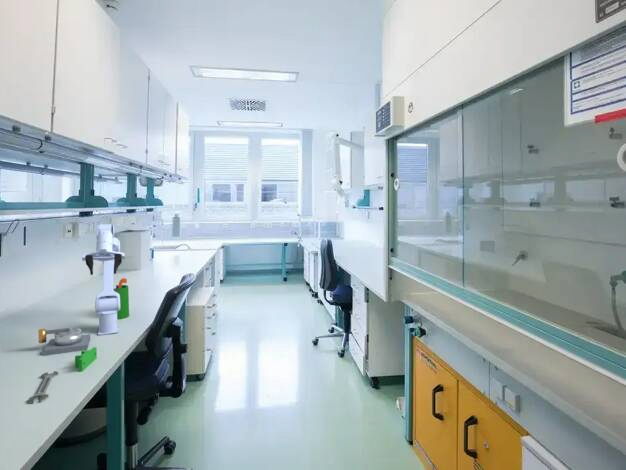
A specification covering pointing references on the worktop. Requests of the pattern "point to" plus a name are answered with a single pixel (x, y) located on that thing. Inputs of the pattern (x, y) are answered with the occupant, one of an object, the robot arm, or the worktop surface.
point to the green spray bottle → (123, 299)
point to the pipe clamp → (85, 358)
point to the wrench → (43, 387)
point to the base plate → (67, 346)
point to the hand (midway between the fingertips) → (103, 272)
